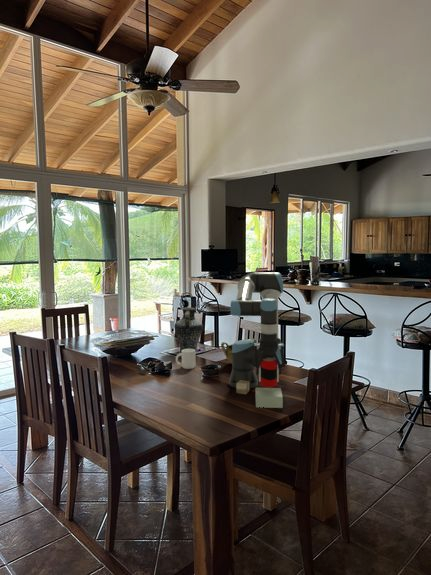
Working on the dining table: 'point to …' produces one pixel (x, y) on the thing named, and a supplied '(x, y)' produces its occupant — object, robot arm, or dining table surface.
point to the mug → (187, 358)
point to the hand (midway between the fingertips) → (268, 380)
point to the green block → (269, 398)
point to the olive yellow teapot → (229, 350)
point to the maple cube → (242, 387)
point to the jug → (188, 329)
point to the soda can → (268, 372)
